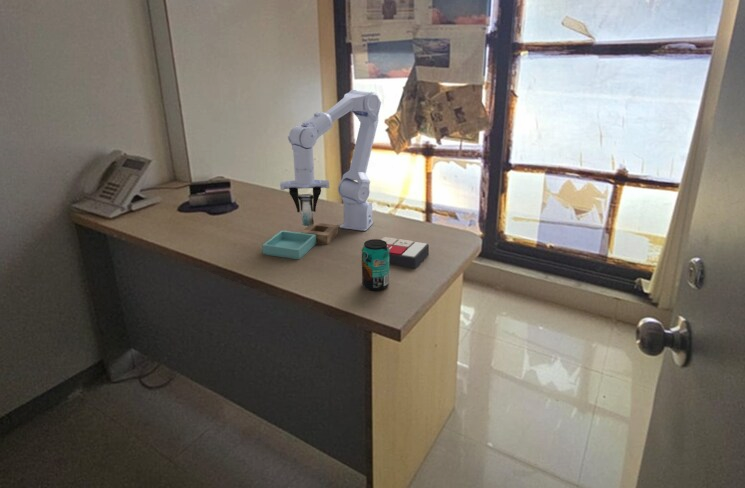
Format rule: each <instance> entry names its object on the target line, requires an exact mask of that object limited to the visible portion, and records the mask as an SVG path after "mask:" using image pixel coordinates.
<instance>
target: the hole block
mask: <svg viewBox="0 0 745 488" xmlns="http://www.w3.org/2000/svg"><path fill="white" fill-rule="evenodd" d="M300 233H306V234H314V235H316V242H317V244H322V245H329V244H330V242H332V241H333V240H334V239H335V238H336V237H337V236H338V234H339V225H338V224H332V223H331V224H330V223H323V222H322V223H321V222H315V221H314V224H313V225H310V226H305V228H304V229H303V230H301V231H300Z"/></svg>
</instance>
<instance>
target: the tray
mask: <svg viewBox="0 0 745 488" xmlns="http://www.w3.org/2000/svg"><path fill="white" fill-rule="evenodd" d="M317 244H318V243H317V242H316V235H314V234H306V233H301V232H297V231H290V230H282V229H281V230H280V231H279V232H277V233H276V234H275V235H273V236H272V237H271V238H270V239H268V240H267V241H266V242H264V243H263V244H262V245H261V247H262V254H263V255H266V256H272V257H273V256H274V257H279V258H285V259H286V258H287V259H292V260H294V259H295V260H300V259H302V258H303V257H304V256H305V255H306V254H307V253H308V252H309V251H311V249H312V248H313V247H315V245H317Z"/></svg>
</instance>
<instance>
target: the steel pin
mask: <svg viewBox="0 0 745 488" xmlns="http://www.w3.org/2000/svg"><path fill="white" fill-rule="evenodd" d="M298 199H299V205H300V213H301V225H302V226H305V227H308V226H310V225H313V224H314V222H315V219H314V212H313V193H312V194H311V193H304V194H303V193H302V194H300V195H299V194H298Z"/></svg>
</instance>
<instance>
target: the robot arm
mask: <svg viewBox="0 0 745 488" xmlns="http://www.w3.org/2000/svg"><path fill="white" fill-rule="evenodd" d="M381 105H382V101H381V99H380V98H379V95H378V94H377V93H376V92H374V91H362V90H357V89H351V90H349V92H347V93H345V94H344V95H343V98H341V99H340V100H339V101H338V102H337V103H336V104H334V105H333V106H332V107H331V108H329V109H328V110H327V111H326V112H323V111H316V112H315V113H313V116H312V117H310V118H309V119H308V120H306V121H305V120H304V121H303V122H302V124H301V125H295V126H293V127H292V128H291V130H290V131H289V135H288V136H287V139H288V141H289V143H290V145H291V150H292V151H293V152H292V154H293V156H292V157H293V167H294V168H293V169H294V170H293V171H294V179H293V180H288V181H280V182H279V183H280V184H279V185H280V191H284V190H288V192H289V195H290V197H291V199H292V200H293V202H294V205H295V207H296V212H297V213H301V205H300V200H299V198H298V196H299V189H312V195H313V199H312V206H313V213H314V212H315V213H316V211H317V203H318V200H319V199H320V198H319V197H320V195H321V193H322V189H330V180H322V179H315V170H314V169H315V167H314V148H313V147H314V146H315V145H316V143H317V140H319V138H320V137H321V136H323V135H324V134H325V133H327V132H328V131H329V130H331V129H332V127H333V122H335V121H337V120H339V119H340V118H342V117H344V116H345V115H346V114H348V113H349V112H352V113H353V114H354V116H355V117H357V119H358V121H359V122H360V125H359V129H358V131H357V132H358V133H357V138H356V142H355V145H354V149H353V153H352V158H351V162H350V166H349V170H348V171H346V172H345V173H344V174H342V178H341V181H340V182H339V184H338V186H337V191H338V192H337V193H338V195H340V197H341V200H342V204H343V205H342V207H343V223H342V224H340V225H339V229H346V230H355V231H362V232H363V231H364V232H366V231H368V229H369V228H370V227H371V226H372V225H373V224H374V223H373V204H372V202H371V201H367V200H368V198H369V197H370V191H371V190H370V184H371V181H370V179H369V177H368V176H367V169H368V165H369V163H370V162H369V161H370V157H371V154H372V149H373V145H374V140H375V136H376V134H377V133H376V132H377V128H378V123H379V114H380V110H381Z"/></svg>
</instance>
